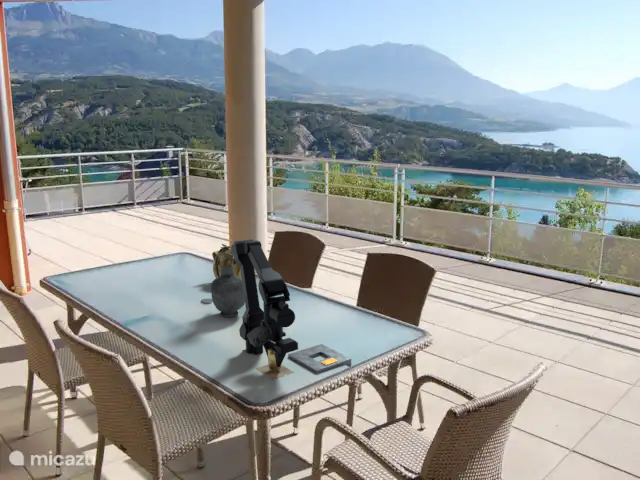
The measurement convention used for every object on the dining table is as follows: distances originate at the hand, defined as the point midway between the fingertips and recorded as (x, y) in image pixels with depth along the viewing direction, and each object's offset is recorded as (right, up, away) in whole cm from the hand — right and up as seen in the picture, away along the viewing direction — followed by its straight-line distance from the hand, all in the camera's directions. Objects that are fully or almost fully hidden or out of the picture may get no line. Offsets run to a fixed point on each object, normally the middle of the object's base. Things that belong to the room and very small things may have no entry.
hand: (274, 364), depth 171 cm
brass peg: (0, -1, 0) cm, 1 cm away
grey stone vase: (-25, +8, +57) cm, 63 cm away
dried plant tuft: (-31, +17, +103) cm, 109 cm away
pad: (0, -3, +1) cm, 3 cm away
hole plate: (+14, -1, +8) cm, 16 cm away
